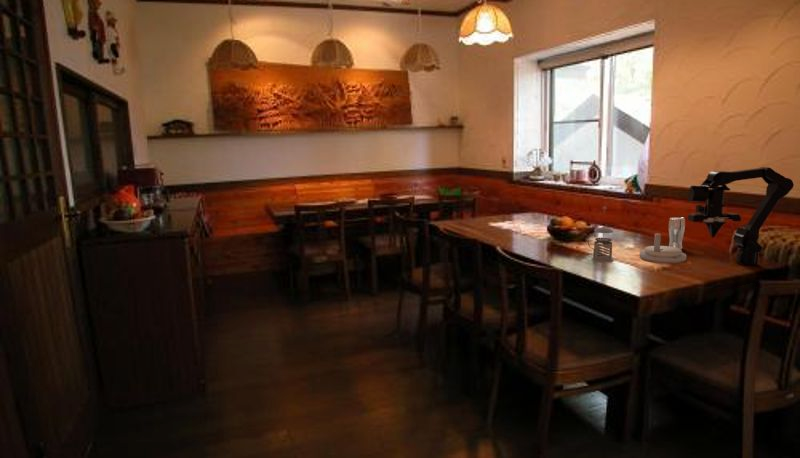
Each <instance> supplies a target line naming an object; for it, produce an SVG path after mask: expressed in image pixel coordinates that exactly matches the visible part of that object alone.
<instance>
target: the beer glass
mask: <svg viewBox="0 0 800 458" xmlns="http://www.w3.org/2000/svg"><path fill="white" fill-rule="evenodd" d="M668 220H669V221H668V234H669V244H668V246H669V247H675V248H679V249H681V250H682V249H683V244H682V243H683V237H684V235H685V234H684V233H685V228H686V218H685V217H678V216H677V217H676V216H675V217H674V216H673V217H669V219H668Z"/></svg>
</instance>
